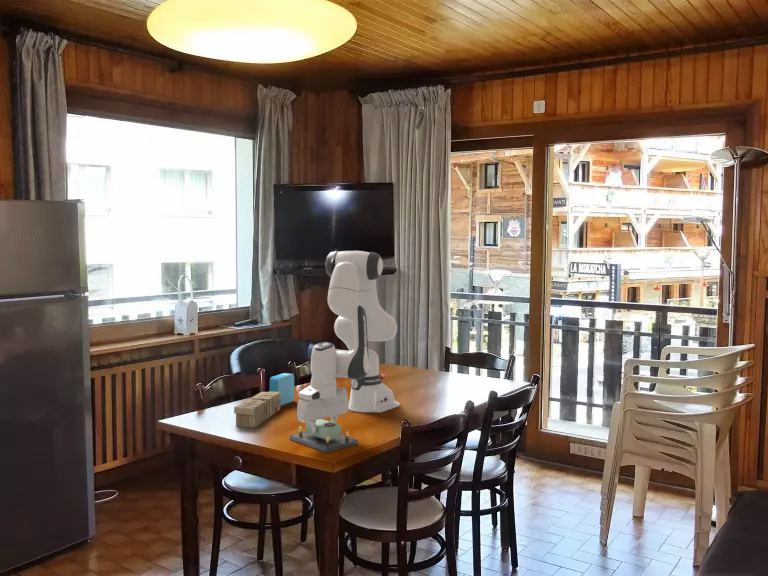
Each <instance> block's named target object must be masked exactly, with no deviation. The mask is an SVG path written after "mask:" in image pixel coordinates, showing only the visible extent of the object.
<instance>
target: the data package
mask: <svg viewBox="0 0 768 576" xmlns="http://www.w3.org/2000/svg"><path fill="white" fill-rule="evenodd" d="M269 391H270V392H280V407H282V406H285V405H287V404H289V403H293V402H294V400H295V376H294V373H289V372H288V373H287V372H283V373H280V374H277V375H274V376H270V379H269Z"/></svg>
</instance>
